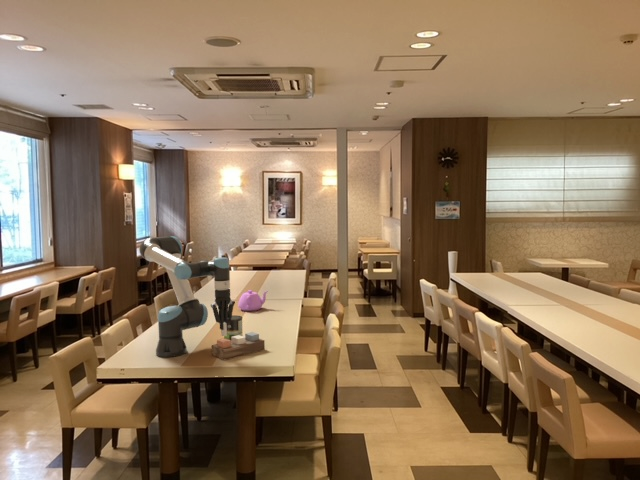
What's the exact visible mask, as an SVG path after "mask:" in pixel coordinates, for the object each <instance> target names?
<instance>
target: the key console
mask: <svg viewBox="0 0 640 480" xmlns="http://www.w3.org/2000/svg"><path fill="white" fill-rule="evenodd" d="M265 347H266V346H265V340H264V339H261V338H259V340H256V341H249V340H246V339H245V343H244V344H239V345H237V344H234V343H231V347H227V348H221V347H219V346H217V343H215V344H211V355H212V356H214V357H215V358H216V357H217V358H218V359H220V360H224V361H226V360H232V359H235V358H238V357H243V356H246V355H250V354H254V353H257V352H262V351H265Z"/></svg>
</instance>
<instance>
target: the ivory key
mask: <svg viewBox="0 0 640 480" xmlns="http://www.w3.org/2000/svg"><path fill="white" fill-rule="evenodd" d="M231 343H234V344H237V345H239V344H244V343H245V336H244V335H243V336H240V335H237V336H232V337H231Z"/></svg>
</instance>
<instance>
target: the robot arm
mask: <svg viewBox="0 0 640 480" xmlns="http://www.w3.org/2000/svg"><path fill="white" fill-rule="evenodd" d="M139 254H140V256H141V257H142V258H143V259H145V260H146V261H148V262H150V263H151V262H153V263H156V264H157V265H160V266H161V267H163V268H165V270H166V272H167V275H168V278H169V280H170V283H171V287H172V288H173V291H174V293H175V296H176V299H177V302H178V305H172V306H171V305H170V306H166V307H163V308H162V309H160V310H159V311H158V315H157V322H158V341H157V346H156V348H155V355H156V357H161V358H173V357H179V356H182V355H184V354H186V353H187V351H188V349H187V344H186V342H185V340H184V337H183V331H186V330H190V329H193V328H198V327H201V326H204V325H206V322H207V320H208V315H209V311H208V309H207V306H206V305H205V304H204V303H200V300H199V299H198V298H197V297H195V296H194V293H193V290H192V287H191V285H190V283H189V279H196V278H203V277H209V276H210V277H214V302H213V303H211V304H210V307H211V308H212V313H213V315H214V319H215V322H216V323H219V330H220V331H221V332H220V333H221V335H220V336H222V337H224V336H227V329H228V323H229V321H231V318H232V316H233V311H234V306H235V304H236V302H235V301H234V300H232V299H231V289H230V288H231V283H230V281H231V279H230V278H231V277H230V273H231V272H230V267H231V265H230V260H229V258H228V257H226V256H225V257H223V256H222V257H221V256H220V257H215V258H213V260H208V259H206V260H201V261H198V262H197V261H196V262H188V261H186V260H184V259H182V254H183V244H182V241H181V240H180V238H178V237H177V236H174V235H166V236H155V237H154V236H153V237H148V238H146V239H144V240H143V241H142V242H141V243H140V244H139Z"/></svg>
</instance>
